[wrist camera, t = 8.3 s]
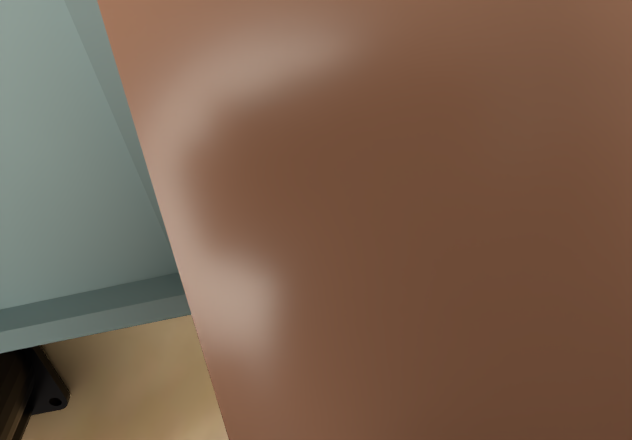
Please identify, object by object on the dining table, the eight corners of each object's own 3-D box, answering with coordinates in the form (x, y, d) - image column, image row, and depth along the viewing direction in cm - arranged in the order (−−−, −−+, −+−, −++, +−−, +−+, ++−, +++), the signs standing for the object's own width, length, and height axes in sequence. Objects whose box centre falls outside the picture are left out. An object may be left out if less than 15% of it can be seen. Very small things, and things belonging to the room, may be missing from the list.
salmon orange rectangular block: (591, 420, 9) (700, 570, 6) (296, 472, 9) (288, 636, 7) (507, -432, 6) (642, -770, 3) (85, -317, 6) (-70, -555, 4)
